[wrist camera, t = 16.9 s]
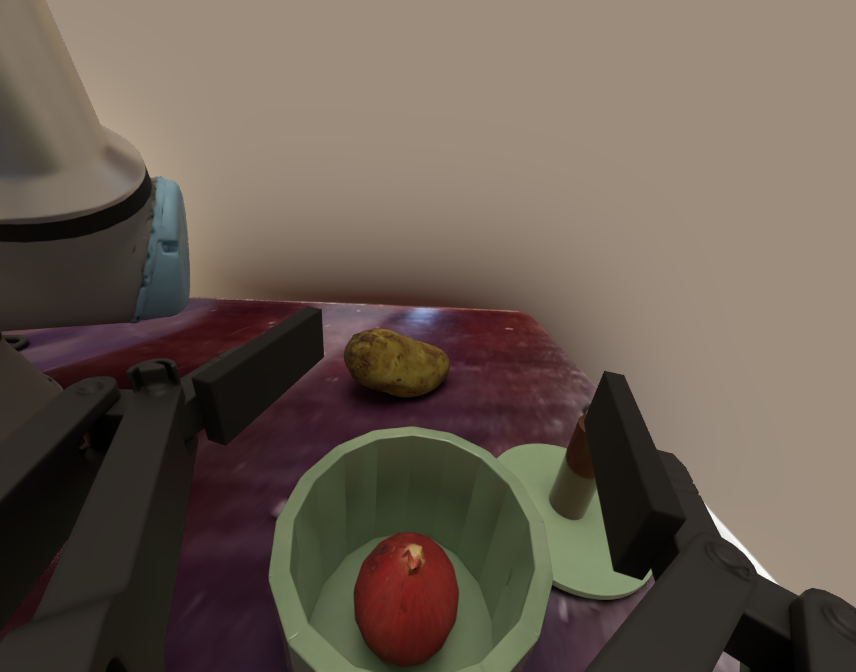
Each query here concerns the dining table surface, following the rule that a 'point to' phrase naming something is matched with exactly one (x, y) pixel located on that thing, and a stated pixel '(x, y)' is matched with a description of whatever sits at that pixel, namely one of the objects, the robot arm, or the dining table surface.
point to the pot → (422, 513)
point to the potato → (395, 363)
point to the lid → (571, 516)
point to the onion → (406, 599)
